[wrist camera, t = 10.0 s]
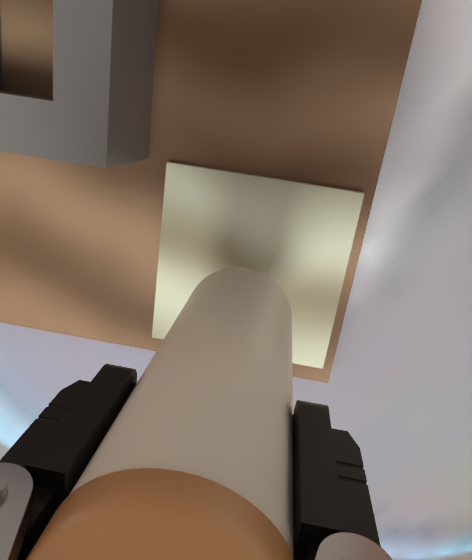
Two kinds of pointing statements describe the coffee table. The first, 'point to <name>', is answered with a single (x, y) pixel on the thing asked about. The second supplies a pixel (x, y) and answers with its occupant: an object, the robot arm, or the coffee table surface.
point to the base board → (210, 170)
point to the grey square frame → (89, 87)
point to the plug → (196, 441)
